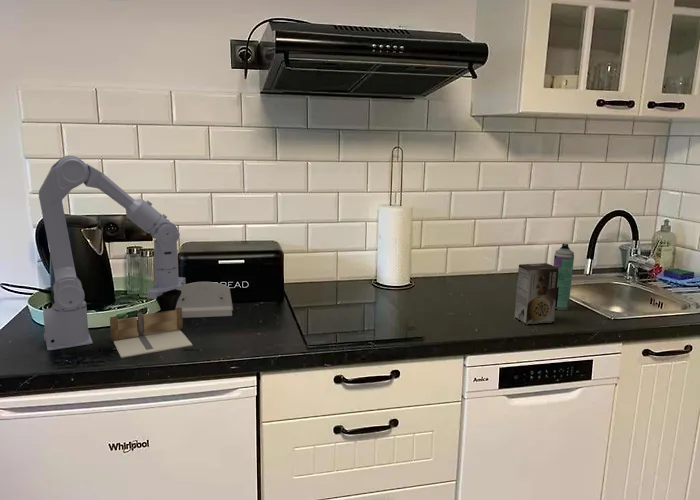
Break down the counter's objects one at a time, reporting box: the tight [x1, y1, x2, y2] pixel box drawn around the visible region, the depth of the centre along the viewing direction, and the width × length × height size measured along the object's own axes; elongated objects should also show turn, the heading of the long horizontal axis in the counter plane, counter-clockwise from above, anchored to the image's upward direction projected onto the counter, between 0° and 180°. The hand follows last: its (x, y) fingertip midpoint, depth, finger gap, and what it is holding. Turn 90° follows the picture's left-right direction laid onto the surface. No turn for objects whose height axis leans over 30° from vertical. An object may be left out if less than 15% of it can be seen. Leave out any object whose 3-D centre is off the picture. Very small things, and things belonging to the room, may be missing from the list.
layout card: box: [112, 329, 193, 359], centre depth 134 cm, size 16×14×1 cm
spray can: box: [553, 243, 575, 308], centre depth 168 cm, size 6×6×20 cm
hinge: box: [175, 281, 234, 319], centre depth 156 cm, size 17×5×10 cm, turn 102°
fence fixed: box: [109, 316, 138, 342], centre depth 135 cm, size 6×2×6 cm, turn 121°
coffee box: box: [514, 262, 559, 323], centre depth 155 cm, size 9×6×16 cm
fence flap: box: [137, 308, 184, 336], centre depth 139 cm, size 11×2×6 cm, turn 121°
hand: (168, 318), depth 143 cm, fingers closed
